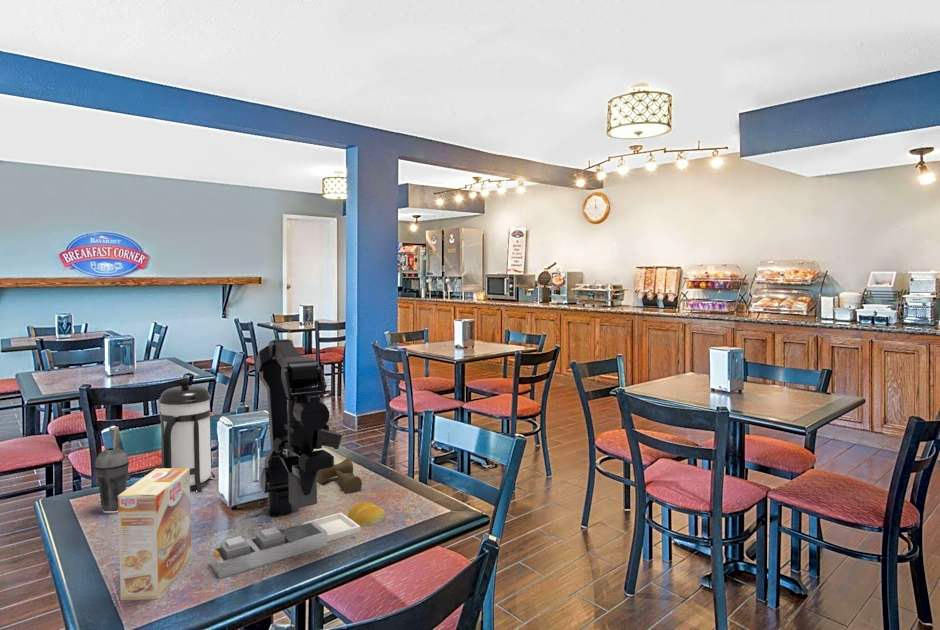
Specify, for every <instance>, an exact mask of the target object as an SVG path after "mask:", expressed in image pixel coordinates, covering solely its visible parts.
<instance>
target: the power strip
mask: <svg viewBox="0 0 940 630" xmlns="http://www.w3.org/2000/svg"><path fill="white" fill-rule="evenodd" d="M311 521H312V520H311ZM278 530H279V529H278ZM279 531H280V532H281V533H282V534H283V535H284V536H285V543H284V544H281V545H277V546H274V547H270V548H267V549H263V550H260V549H259V548H258V547H257V546H256V536H254V537H250V538H248V539H245V540H246V541H247V543H248V544H249V545H250V553H249V554H246V555H242V556H239V557H235V558H232V559H228V560H225V561H224V560H223V559H222V558H221V551H220V546H217V547H214V548H210V549H208V553H209V554H208V557H209V559H208V560H209V561H208V562H209V566H210V568H212V571H213V572H214V573H215V575H216V576H217V578H218V579H224V578H227V577H230V576H235V575H237V574H241V573H244V572H247V571H250V570H252V569H254V568H255V569H256V568H258V567H262V566H266V565H268V564H271V563H274V562H279V561H282V560H284V559H288V558H291V557H294V556H297V555H301V554H304V553H307V552H310V551H314V550H317V549H320V548H324V547H327V546H328V544H329V543H328V542H329V541H328V538H327V531H325V530H324V529H323V528H322V527H321V526H319V525H318V524H317V523H316V522H314V521H312V522H309V523H305V524H303V523H302V524H298V525H294V526H291V527H287V528H284V529H280V530H279Z"/></svg>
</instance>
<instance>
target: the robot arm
mask: <svg viewBox="0 0 940 630" xmlns="http://www.w3.org/2000/svg"><path fill="white" fill-rule="evenodd" d="M255 367H256V372H257V373H258V376H259V380H260V381H261V383H262V384H263V386H264V387H265V389H266V390H267V391H266V393H267V410H268V423H269V425H268V427H269V439H270V440H269V441H270V443H269V444H270V449H269V451H268V453H267V455H266V457H265V459H264V467H263V468H262V471H261V474H260V478H259V481H260V483H259V485H260V489H261V490H262V492H263V493H264V494H267V503H268V504H267V506H268V507H265V508H262V509H263V511H264V512H265V513H266V514H268V516H270V517H271V518H275V517H276V518H277V517H282V516H285V515H290V514H291V513H296V512H299V509H297V508H295V507H294V506H293V505H292V504H290V503H289V473H291V472H292V466H294V465H297V466H294V468H295V471H296V474H297V476H298V479H299V482H300V485H301V487H302V490H303V493H304V495H309V494H310V492H311V489H312V486H313V483H314V480H315V477H316V474H317V472H318V470H321V469H326V468H330V467H333V466H334V465H335V456H334V455H333V454H331V453H330V452H328V451H327V450H324V449H323V446H324V447H327V448H328V447H329V448H333V449H335V450H339V448H340V445H341V442H342V438H343V434H341V433H339V432H337V431H336V430H335V431H334V430H332V429H330V426H329V424H327V423H328V422H329V421H330V411H329V408H328V406H327V405H326V404H325V403H324V402H322V401H320V398H321V397H320V395H326V393H327V391H326V389H327V386H328V385H327V382H326V381H327V380H326V378H325V375H324V372H323V369H322V367H321V365H320V364H319V363H318V361H317V360H316V359H314V358H312V357H308V356H307V357H306V356H303V355H302V354H301V353H300V351H299V350H298V349H297V348H296V347H295V346H294V342H293V339H289V338H286V339H282V338H281V339H273V340H270V341H269V343H268V345H267V346H265V347H264V348H262V349H261V350H259V351H258V354H257V356H256V360H255Z"/></svg>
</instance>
